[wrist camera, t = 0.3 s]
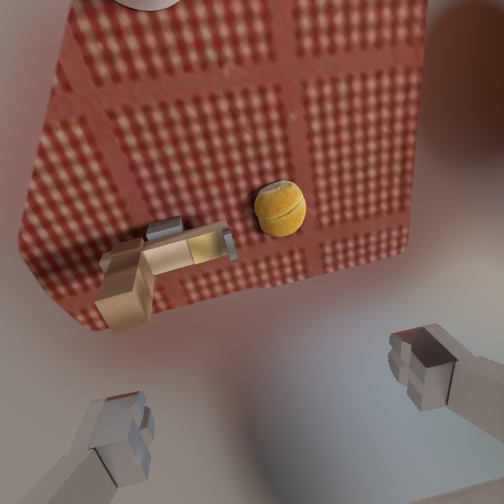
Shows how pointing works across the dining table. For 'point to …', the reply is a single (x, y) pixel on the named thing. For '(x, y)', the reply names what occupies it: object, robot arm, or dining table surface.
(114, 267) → the plate
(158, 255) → the seesaw
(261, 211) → the bread roll
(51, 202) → the dining table surface
